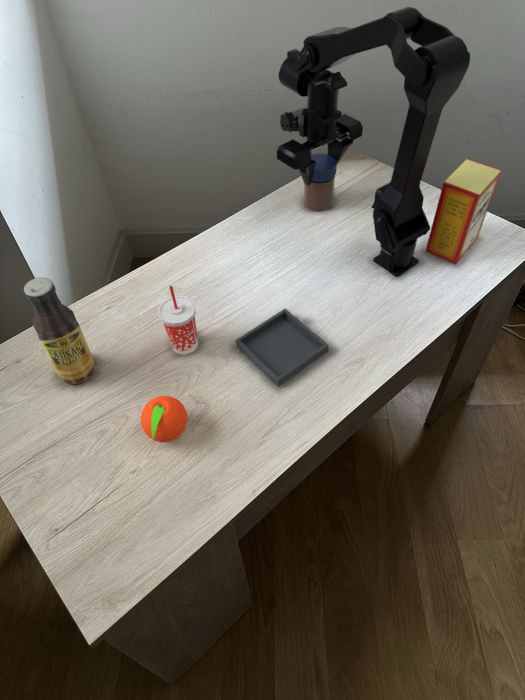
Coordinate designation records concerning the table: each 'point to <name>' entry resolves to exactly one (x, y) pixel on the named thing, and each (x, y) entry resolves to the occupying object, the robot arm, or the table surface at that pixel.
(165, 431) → the clementine
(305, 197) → the jar
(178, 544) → the table surface
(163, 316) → the beverage cup
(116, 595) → the table surface
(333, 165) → the lid
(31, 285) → the sauce bottle
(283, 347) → the tray
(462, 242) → the baking soda box
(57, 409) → the table surface
